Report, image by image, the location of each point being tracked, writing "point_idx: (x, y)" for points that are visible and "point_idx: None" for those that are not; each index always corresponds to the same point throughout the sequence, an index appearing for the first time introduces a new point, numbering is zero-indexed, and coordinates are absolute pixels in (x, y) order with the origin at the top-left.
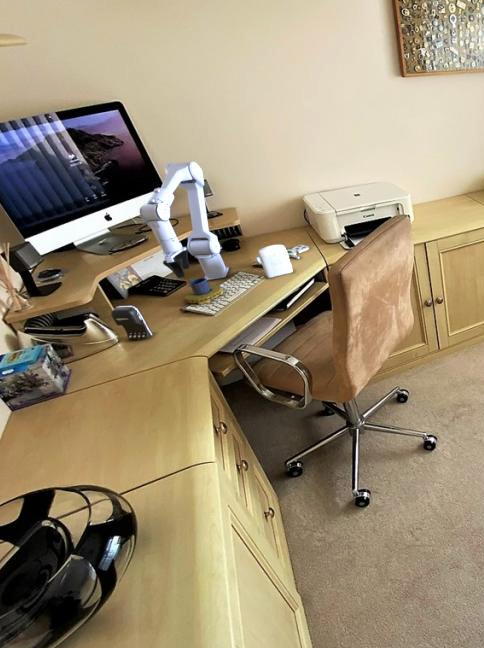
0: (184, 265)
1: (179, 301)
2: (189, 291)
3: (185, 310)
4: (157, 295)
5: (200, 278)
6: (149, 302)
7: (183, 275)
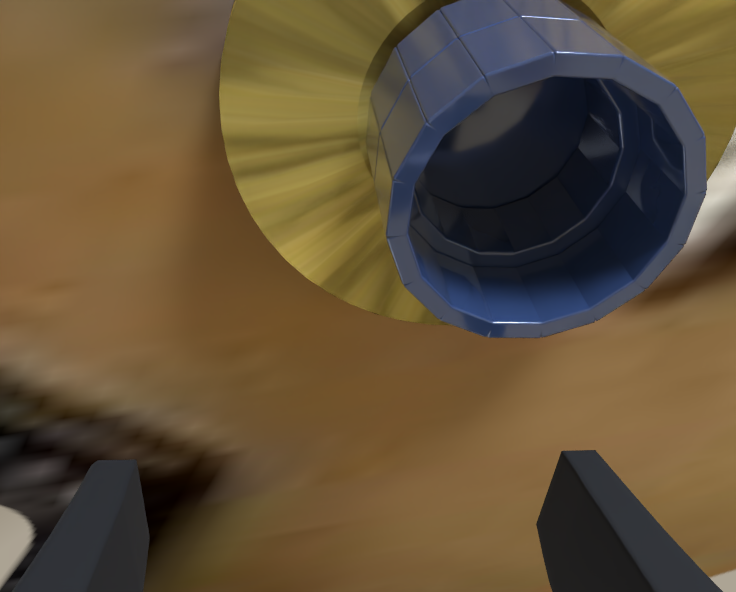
0: (122, 576)
1: (422, 343)
2: (366, 289)
3: (713, 253)
4: (158, 527)
5: (413, 184)
6: (294, 545)
7: (612, 485)
